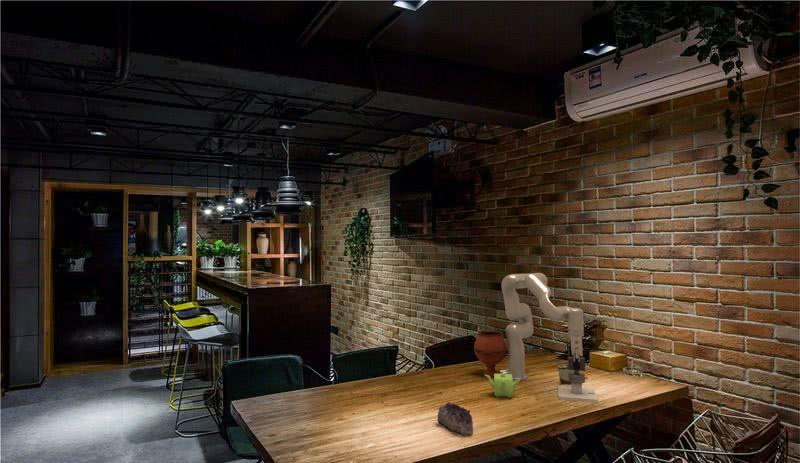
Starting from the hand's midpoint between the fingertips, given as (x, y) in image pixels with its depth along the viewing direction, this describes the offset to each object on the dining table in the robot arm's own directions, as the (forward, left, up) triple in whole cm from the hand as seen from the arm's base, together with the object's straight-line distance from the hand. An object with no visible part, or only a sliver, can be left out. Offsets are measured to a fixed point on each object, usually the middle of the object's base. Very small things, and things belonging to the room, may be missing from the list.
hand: (576, 368), depth 236 cm
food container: (+2, +21, -14) cm, 25 cm away
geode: (-64, -43, -14) cm, 79 cm away
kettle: (-38, -1, -14) cm, 40 cm away
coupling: (+1, 0, -6) cm, 6 cm away
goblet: (-38, +38, -14) cm, 55 cm away
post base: (0, 0, -14) cm, 14 cm away
